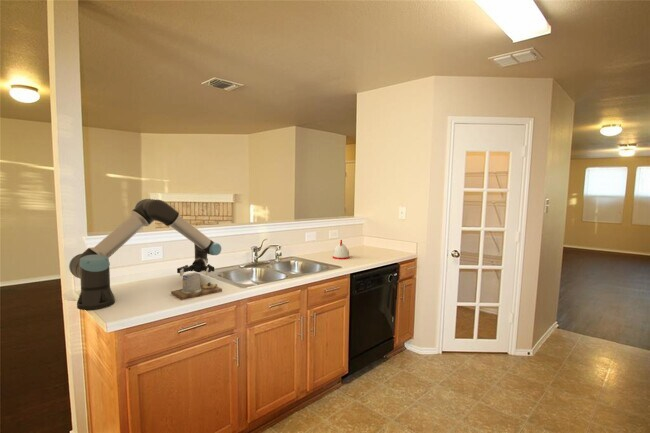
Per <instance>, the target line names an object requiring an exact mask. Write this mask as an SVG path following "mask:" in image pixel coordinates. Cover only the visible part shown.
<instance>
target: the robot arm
mask: <svg viewBox="0 0 650 433" xmlns="http://www.w3.org/2000/svg"><path fill="white" fill-rule="evenodd" d="M154 221H156V222H159V223H161V224H164V225H165V226H166V227H171V228H172V229H174V231H176V232H178V233H179V234H180V235H182V236H184V237H185V238H186V239H188V240H189V241H190V242H191V243H193V244H194V261H193V262H192V264H190V265H189V264H185V265H184V266H181V267H177V268H176V272H177V274H179V277H183V275H185V273H188V272H194V273H201V272H205V274H206V275H205V276H208V275H209V273H211V272H213V273H214V272H215V266H212V265H210V263H209V264H208V262H209V259H208V258H209V257H208V255H210V256H218V255H220V254H221V252H222V246H221V244H220V243H218V242H214V241H213V240H212V239H210V238H209V237H208V236H207V235H205V234H204V233H202V232H201V231H200V230H199V229H198V228H197V227H195V226H194V225H192V224H191V223H190V222H188V221H187V220H186V219H184V217H182V216H181V215H180V212H178V211H177V210H176V209H175V208H174V207H172V206H171V205H170V204H168V203H167V202H165V201H164V200H161V199H153V198H145V199H142V200H141V199H140V200H139V201H138V202H137V203H136V204H135V206H134V208H133V209H132V210H131V211H130V216H129V217H127V218H126V219H125V220H124V221H123V222H122V223H120V224H119V225H118V226H117V227H116V228H115V229H113V230H112V231H111V232H110V233H109V234H108V235H107V236H106V237H105V238H103V239H102V240H101V241H100V242H98V243H97V244H96V245H95V246H94V247H88V248H87V249H85V250H84V251H83V252H82V253H78V254H76V255H75V256H73V257H72V258H71V260H70V262H69V265H68V270H69V271H70V273H71V275H72V276H74V277H75V278H77V279H80V293H79V296H78V300H77V302H76V308H77V309H78V310H80V311H93V310H94V311H95V310H100V309H104V308H108V307H111V306H113V305H114V304H115V303H116V298H115V295H114V293H113V291H112V288H111V278H110V276H111V275H110V274H111V271H110V265H111V264H110V263H111V262H110V257H111V256H112V255H114V253H116V252H117V251H118V250H119V249H120V248H121V247H123V246H124V245H125V244H126V243H127V242H128V241H130V239H132V237H133V236H135V235H136V234H137V233H138V232H139V231H140V230H141V229H143V227H149V226H150V225H151V224H152V223H153V222H154Z"/></svg>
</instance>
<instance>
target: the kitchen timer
mask: <svg viewBox="0 0 650 433" xmlns="http://www.w3.org/2000/svg"><path fill="white" fill-rule="evenodd" d="M332 259H334V260H339V261H340V260H341V261H342V260H343V261H344V260H348V259H350V251H349V249H348V248H347V246H346V245H345V244H343V239H340V242H339V243H338V244H337V245H336V246H335V248H333V251H332Z"/></svg>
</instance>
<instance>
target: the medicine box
mask: <svg viewBox="0 0 650 433" xmlns="http://www.w3.org/2000/svg"><path fill="white" fill-rule="evenodd" d="M200 285H201V273H200V272H192V273H187V274H183V275H182V289H183V291H184V292H191V291H195V290H198V289H200Z"/></svg>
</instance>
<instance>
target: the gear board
mask: <svg viewBox="0 0 650 433" xmlns="http://www.w3.org/2000/svg"><path fill="white" fill-rule="evenodd" d="M222 292H223V288H222V287H219V286H218V284H217V283H215V284H214V283H211V282H207V284H200V289H198V290H195V291H191V292H184V291H183V288H181V289H175V290H171V291H170V294H171V295H172V296H174V297H176V298H178V299H180V301H183V300H189V299H193V298H198V297H202V296H207V295H211V294H216V293H222Z"/></svg>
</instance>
